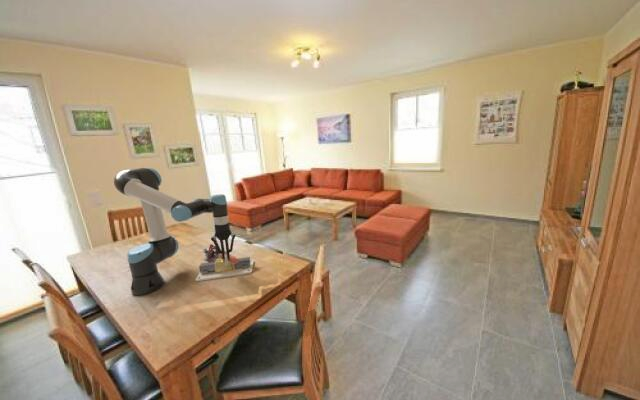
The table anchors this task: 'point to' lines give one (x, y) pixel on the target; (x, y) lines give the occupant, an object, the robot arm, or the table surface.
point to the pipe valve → (223, 265)
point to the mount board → (225, 273)
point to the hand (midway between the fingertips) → (227, 264)
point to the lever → (231, 259)
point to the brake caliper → (211, 254)
